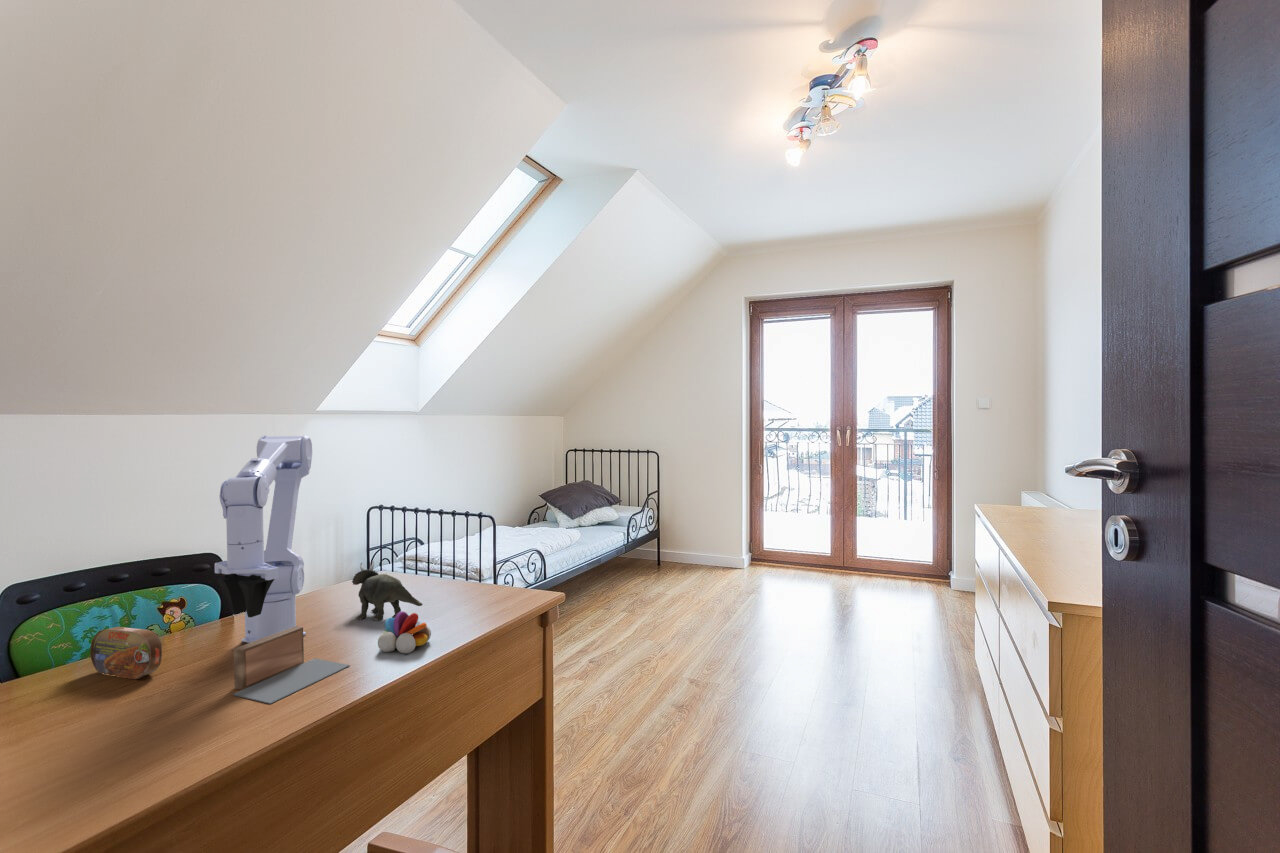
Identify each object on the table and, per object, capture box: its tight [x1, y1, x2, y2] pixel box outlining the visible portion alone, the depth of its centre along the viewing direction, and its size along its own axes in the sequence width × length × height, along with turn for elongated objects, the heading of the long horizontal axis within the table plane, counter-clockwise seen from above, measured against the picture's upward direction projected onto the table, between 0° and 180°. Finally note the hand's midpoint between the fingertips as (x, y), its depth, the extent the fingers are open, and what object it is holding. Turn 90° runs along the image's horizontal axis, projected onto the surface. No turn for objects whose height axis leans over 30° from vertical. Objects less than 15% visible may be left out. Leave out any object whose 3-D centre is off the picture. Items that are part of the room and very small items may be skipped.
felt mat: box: [232, 657, 351, 705], centre depth 108 cm, size 9×16×1 cm, turn 158°
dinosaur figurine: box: [351, 560, 424, 621], centre depth 142 cm, size 22×8×11 cm, turn 58°
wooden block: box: [233, 625, 305, 691], centre depth 110 cm, size 2×12×7 cm, turn 159°
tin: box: [89, 626, 163, 680], centre depth 111 cm, size 15×3×8 cm, turn 74°
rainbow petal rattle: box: [377, 610, 432, 654], centre depth 123 cm, size 8×10×7 cm
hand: (247, 614), depth 112 cm, fingers open, 3 cm apart
